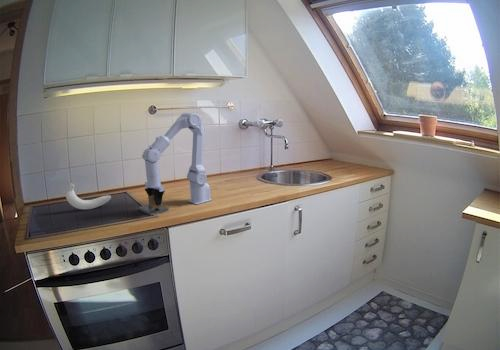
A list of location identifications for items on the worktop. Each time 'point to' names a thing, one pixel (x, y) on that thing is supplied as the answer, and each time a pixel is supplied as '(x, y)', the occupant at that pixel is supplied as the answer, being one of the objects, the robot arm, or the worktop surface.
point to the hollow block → (152, 202)
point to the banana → (85, 203)
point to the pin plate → (153, 211)
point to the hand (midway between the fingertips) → (155, 203)
